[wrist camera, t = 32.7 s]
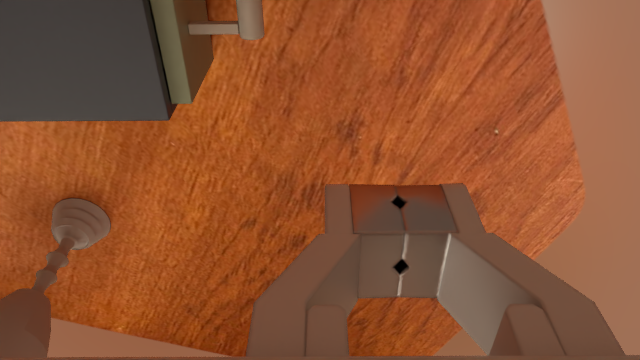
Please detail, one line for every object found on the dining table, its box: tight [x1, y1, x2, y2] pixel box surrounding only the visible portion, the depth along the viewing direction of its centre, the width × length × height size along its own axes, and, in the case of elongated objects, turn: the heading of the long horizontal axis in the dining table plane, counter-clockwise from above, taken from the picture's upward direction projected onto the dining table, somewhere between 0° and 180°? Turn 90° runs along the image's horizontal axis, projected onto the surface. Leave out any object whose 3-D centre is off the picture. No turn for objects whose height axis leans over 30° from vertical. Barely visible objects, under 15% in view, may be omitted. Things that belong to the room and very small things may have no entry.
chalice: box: [0, 198, 111, 358], centre depth 35 cm, size 7×7×18 cm
